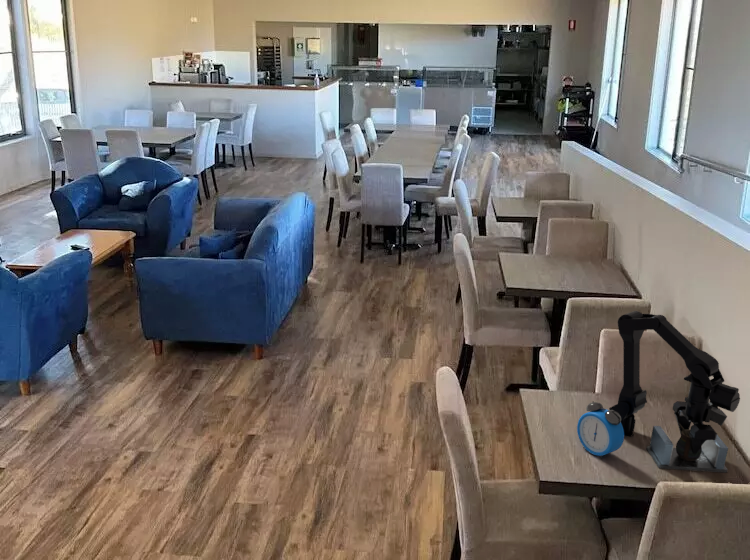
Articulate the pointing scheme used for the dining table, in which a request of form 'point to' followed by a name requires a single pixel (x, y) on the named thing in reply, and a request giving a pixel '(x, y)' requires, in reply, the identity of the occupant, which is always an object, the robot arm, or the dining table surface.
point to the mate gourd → (686, 446)
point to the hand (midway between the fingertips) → (688, 445)
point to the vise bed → (708, 460)
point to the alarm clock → (600, 430)
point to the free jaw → (661, 445)
